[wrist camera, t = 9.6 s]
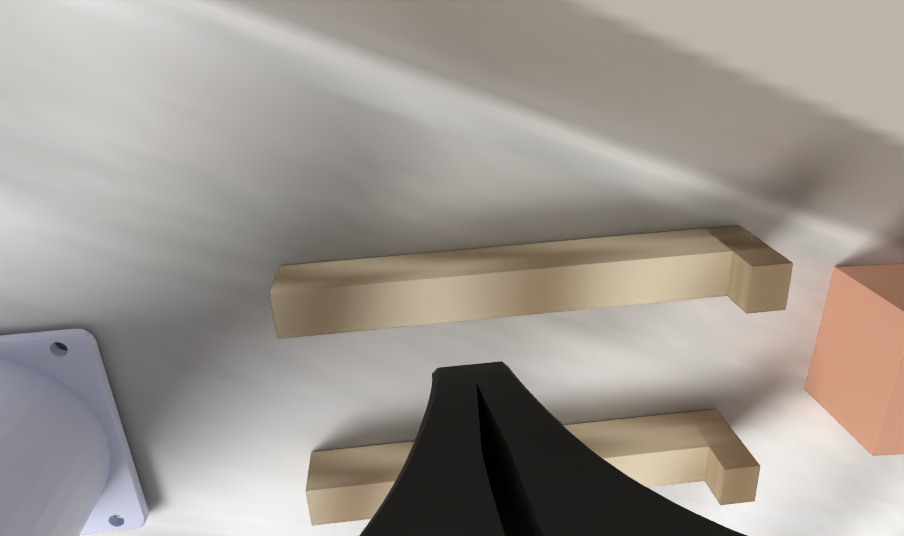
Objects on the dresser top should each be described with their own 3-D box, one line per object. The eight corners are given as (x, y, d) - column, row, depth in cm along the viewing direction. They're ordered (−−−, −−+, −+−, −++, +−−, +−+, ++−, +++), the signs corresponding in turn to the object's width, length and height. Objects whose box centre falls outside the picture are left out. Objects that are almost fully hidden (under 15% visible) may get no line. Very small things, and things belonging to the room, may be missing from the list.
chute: (317, 484, 25) (308, 553, 22) (278, 266, 21) (262, 312, 18) (712, 441, 26) (754, 501, 23) (738, 225, 22) (792, 263, 19)
